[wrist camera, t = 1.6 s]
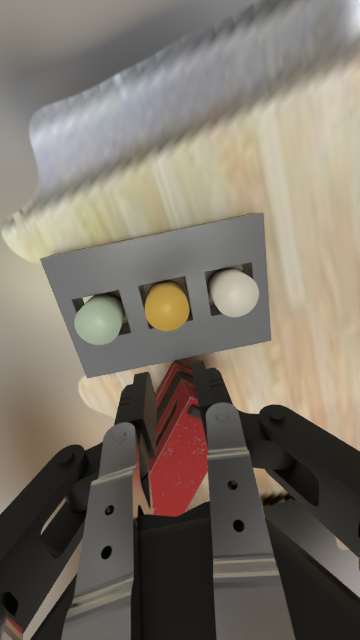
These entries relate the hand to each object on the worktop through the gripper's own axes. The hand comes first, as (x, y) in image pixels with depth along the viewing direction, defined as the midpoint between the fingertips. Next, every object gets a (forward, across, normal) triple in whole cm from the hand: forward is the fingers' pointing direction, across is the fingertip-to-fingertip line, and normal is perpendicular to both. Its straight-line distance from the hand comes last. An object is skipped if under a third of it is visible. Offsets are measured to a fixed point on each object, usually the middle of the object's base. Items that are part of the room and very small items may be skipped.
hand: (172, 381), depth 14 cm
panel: (+17, 0, 0) cm, 17 cm away
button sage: (+15, +7, 0) cm, 17 cm away
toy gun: (+17, +5, +18) cm, 26 cm away
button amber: (+15, 0, 0) cm, 15 cm away
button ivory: (+15, -7, 0) cm, 17 cm away
